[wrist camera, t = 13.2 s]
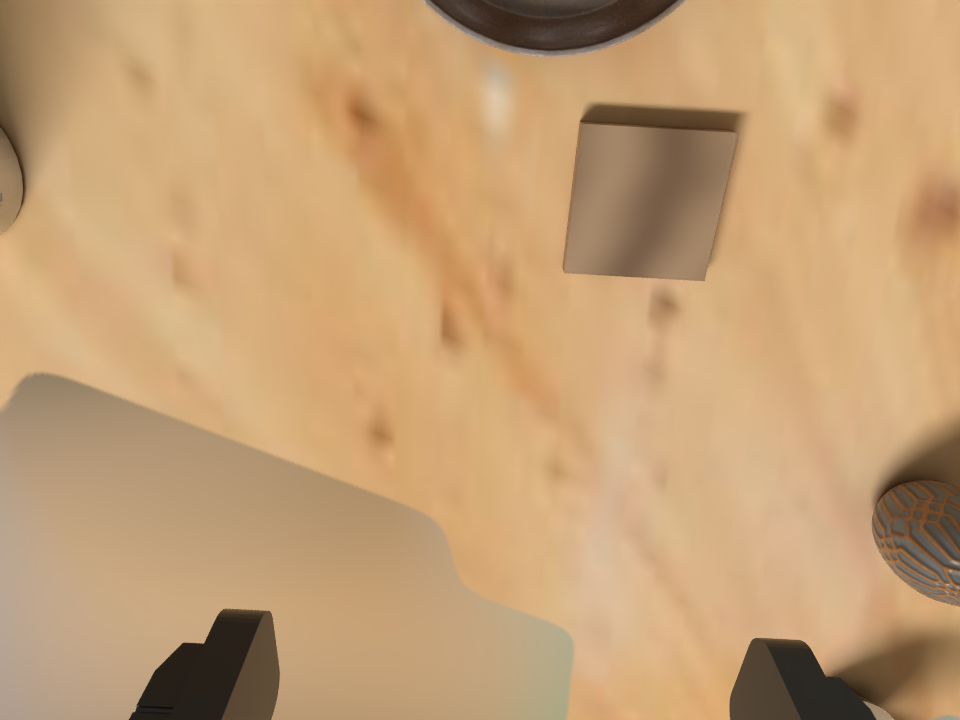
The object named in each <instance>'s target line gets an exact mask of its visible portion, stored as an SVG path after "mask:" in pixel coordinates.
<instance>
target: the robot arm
mask: <svg viewBox="0 0 960 720" xmlns="http://www.w3.org/2000/svg"><path fill="white" fill-rule="evenodd" d="M22 196H23V184H22V173H21V170H20V166H19V163H18V159H17V156H16V154H15V152H14V150H13V148H12V145H11V143H10V141H9V139H8V137H7V136H6V135H5V133H4V132H3V130H2V129H1V127H0V234H1V233H3V232H4V231H5V230H6V229H7V228H8V227H9V226H10V225H11V224H12V223H13V222H14V220H15V218H16V216H17V214H18V212H19V210H20V207H21V201H22ZM279 674H280V672H279V662H278V655H277V647H276V640H275V632H274V625H273V618H272V614H271V612H270V611H259V610H239V609H223V610H222V611H221V612H220V613H219V614H218V616H217V618H216V620H215V622H214V624H213V626H212V628H211V630H210V632H209V635H208V637H207V639H206V641H205V643H204V644H200V643H199V644H198V643H182V644H181V645H180V647H178V648H177V650H175V651H174V652H173V653H172V654H171V655H170V657H168V658H167V659H166V661H164V662H163V664H161V665H160V666H159V667H158V668H157V669H156V670H155V672H154V674H153V675H152V677H151V679H150V681H149V683H148V685H147V687H146V689H145V691H144V692H143V694H142V696H141V698H140V700H139V702H138V704H137V708H136V711H135V713H134V712H133V713H132V715H131V717H130V719H129V720H271V718H272V715H273V712H274V709H275V705H276V700H277V695H278V689H279V676H280V675H279ZM730 720H876V718H875V716H874V714H873V713H872V711H871V709H870V708H869V707H868V706H867V705H866V704H865V703H864V702H863V701H862V700H861V699H860V698H859V697H858V696H857V695H856V694H855V693H854V692H853V691H852V689H851V688H850V687H849V686H848V685H847V684H846V683H845V682H844V681H843V680H842V679H841V678H833V677H826V676H825V675H824V673H823V671H822V669H821V667H820V665H819V663H818V661H817V659H816V658H815V656H814V654H813V652H812V650H811V649H810V647H809V646H808V645H807V644H806V643H805V642H803V641H801V640H788V639H769V638H754V639H753V640H752V641H751V643H750V645H749V647H748V650H747V653H746V655H745V658H744V661H743V664H742V666H741V669H740V672H739V674H738V677H737V680H736V682H735V685H734V688H733V690H732V693H731V697H730Z"/></svg>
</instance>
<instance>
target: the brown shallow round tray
mask: <svg viewBox="0 0 960 720" xmlns="http://www.w3.org/2000/svg"><path fill="white" fill-rule="evenodd" d="M423 1H424V2H425V4H426V5H428V6H429V7H430V8H431V9H432V10H433V11H434V12H435V13H436V14H437V15H439V16H440V17H441V18H442V19H444V20H445V21H446V22H448V23H449V24H451V25H452V26H454V27H455V28H456V29H458V30H460V31H461V32H463V33H465V34H467V35H468V36H470V37H472V38H474V39H476V40H478V41H480V42H482V43H485V44H487V45H490V46H493V47H495V48H499V49H502V50H505V51H509V52H513V53H518V54H524V55H531V56H544V57H560V56H572V55H579V54H585V53H589V52H594V51H598V50H601V49H604V48H607V47H610V46H613V45H616V44H619V43H621V42H624V41H626V40H628V39H630V38H632V37H634V36H636V35H638V34H640V33H642V32H644V31H645V30H647V29H649V28H650V27H652V26H653V25H655V24H656V23H658V22H659V21H661V20H662V19H664V18H665V17H666V16H668V15H669V14H670V13H671V12H673V11H674V10H675V9H676V8H677V7H679V6H680V5H681V4H682V3H683V2H685V1H686V0H423Z"/></svg>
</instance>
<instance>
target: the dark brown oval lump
mask: <svg viewBox="0 0 960 720" xmlns="http://www.w3.org/2000/svg"><path fill="white" fill-rule="evenodd" d="M872 531H873V536H874V540H875V543H876V545H877V548H878V550H879V552H880V554H881V555H882V557H883V559H884V560H885V561H886V563H887V564H888V566H889V567H890V568H891V569H892V571H893V572H894V573H895V574H896V575H897V576H898V577H899V578H900V579H901V580H903V581H904V582H905V583H906V584H908V585H909V586H910V587H912V588H913V589H915V590H916V591H918V592H919V593H921V594H923V595H925V596H927V597H929V598H932V599H934V600H937V601H940V602H943V603H947V604H951V605H955V606H959V607H960V488H957V487H955V486H953V485H950V484H947V483H944V482H939V481H931V480H918V481H910V482H906V483H902V484H900V485H897V486H895V487H894V488H892V489H890V490H889V491H888V492H886V493H885V494H884V495H883V497H882V498H881V499H880V501H879V502H878V504H877V506H876V508H875V510H874V513H873V518H872Z"/></svg>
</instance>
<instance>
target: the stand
mask: <svg viewBox="0 0 960 720" xmlns="http://www.w3.org/2000/svg"><path fill="white" fill-rule="evenodd" d="M737 136H738V133H737V132H734V131H730V130H714V129H697V128H680V127H663V126H647V125H630V124H613V123H596V122H580V125H579V133H578V142H577V150H576V159H575V167H574V175H573V184H572V192H571V201H570V209H569V217H568V226H567V234H566V243H565V251H564V260H563V270H564V273H573V274H590V275H608V276H625V277H642V278H659V279H676V280H694V281H705V276H706V272H707V267H708V263H709V259H710V254H711V250H712V246H713V241H714V237H715V233H716V228H717V224H718V219H719V215H720V211H721V206H722V202H723V198H724V193H725V189H726V184H727V180H728V176H729V171H730V167H731V163H732V158H733V154H734V149H735V145H736V141H737Z"/></svg>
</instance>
